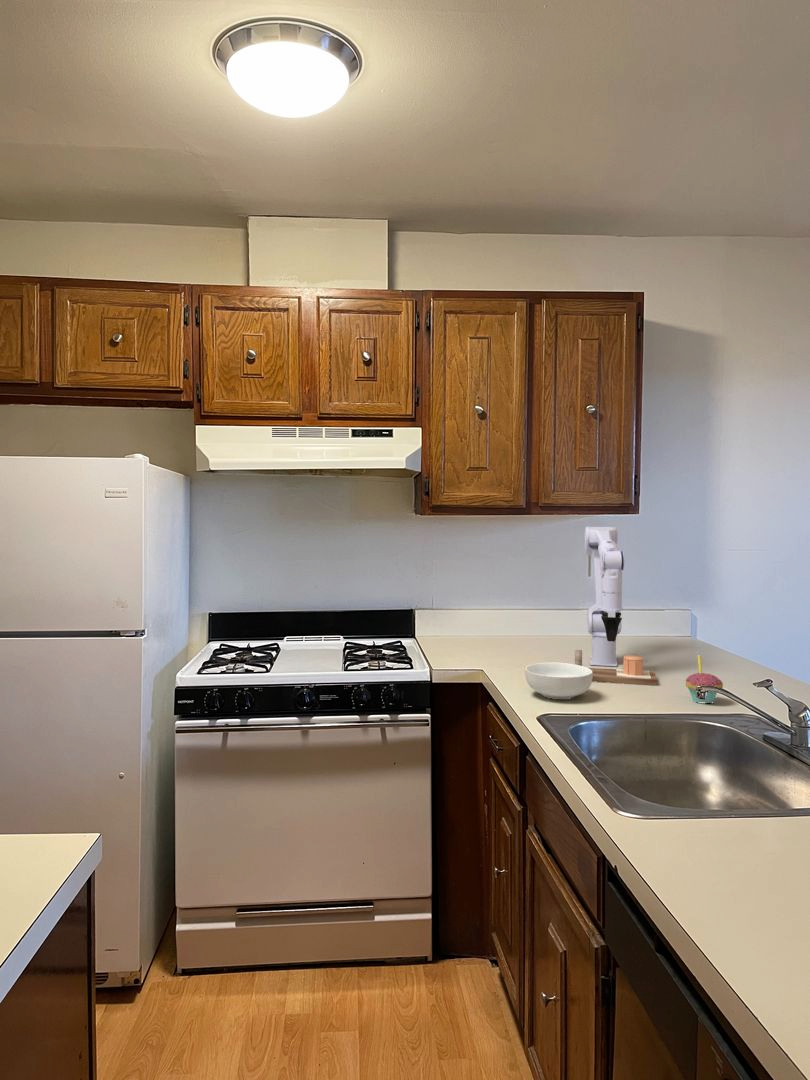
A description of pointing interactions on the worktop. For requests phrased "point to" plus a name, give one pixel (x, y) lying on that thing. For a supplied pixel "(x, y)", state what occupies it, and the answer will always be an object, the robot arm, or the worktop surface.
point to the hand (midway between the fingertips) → (611, 639)
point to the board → (618, 674)
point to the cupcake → (703, 684)
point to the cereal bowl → (558, 679)
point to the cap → (633, 665)
